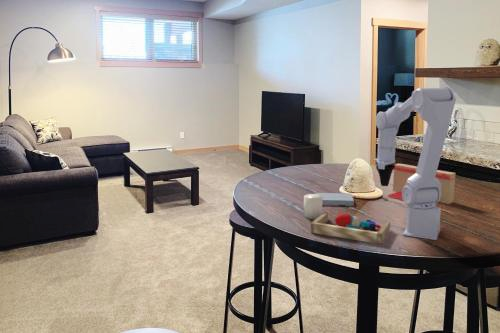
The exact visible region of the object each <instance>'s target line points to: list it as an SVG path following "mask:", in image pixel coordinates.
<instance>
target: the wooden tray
mask: <svg viewBox="0 0 500 333" xmlns="http://www.w3.org/2000/svg"><path fill="white" fill-rule="evenodd" d="M328 221H329V212H328V211H324V212H322V215H320V216H319V217H318V218H317V219H313V221H312V222H311V223H310V233H313V234H317V235H318V234H319V235H324V236H329V237H330V236H331V237H335V238H336V237H337V238H341V239H342V238H343V239H347V240H354V241H355V240H356V241H361V242H367V243H373V244H376V245H377V244H378V245H382V243H383V241H384V240H385V238H386V236H388V234H389V232H390V231H391V221H390V220H386V221H385V222H384V223H383V224H382V226H381V229H380V230H379V231H375V232H373V231H370V230H368V229H366V230H365V229H359V228H358V229H354V228H347V227H341V226H338V225H333V224H327V222H328Z"/></svg>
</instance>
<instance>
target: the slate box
mask: <svg viewBox="0 0 500 333" xmlns="http://www.w3.org/2000/svg"><path fill="white" fill-rule="evenodd" d="M315 194H318V195H321V196H322V197H323V200H322V206H339V205H345V206H347V207H351V206H352V207H353V206H355V200H354V196H353V195H352V194H353V193H345V192H344V193H341V192H340V193H339V192H337V193H336V192H335V193H334V192H315ZM345 206H344V207H345Z"/></svg>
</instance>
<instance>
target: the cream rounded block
mask: <svg viewBox="0 0 500 333" xmlns="http://www.w3.org/2000/svg"><path fill="white" fill-rule="evenodd" d="M322 200H323V197H322V196H321V195H318V194H316V193H308V194H305V195H303V217H304V218H306V219H311V220H315V219H317V218H318V217H319V216H320V215H322V214H323V205H322Z"/></svg>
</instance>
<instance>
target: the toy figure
mask: <svg viewBox="0 0 500 333" xmlns="http://www.w3.org/2000/svg"><path fill="white" fill-rule="evenodd" d="M334 221H335V222H334V223H335V224H336V226H341V227H347V228H354V229H359V228H361V229H366V230H369V231H373V232H378V231H379V230H380V229H381V227H382V226H381V225H380V224H377V223H376V222H375V221H373V220H371V219H367V220H361V219H360V218H359V217H358V216H356V215H353V214H350V213H342V214H338V215H337V216H336V217H335V219H334ZM376 228H378V229H376Z"/></svg>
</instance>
